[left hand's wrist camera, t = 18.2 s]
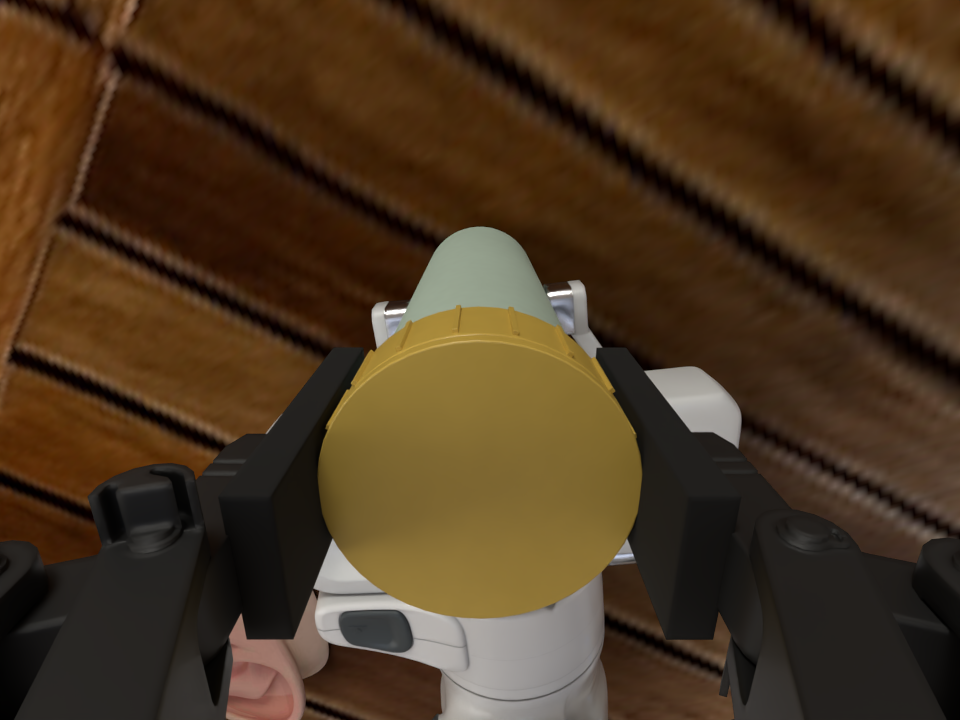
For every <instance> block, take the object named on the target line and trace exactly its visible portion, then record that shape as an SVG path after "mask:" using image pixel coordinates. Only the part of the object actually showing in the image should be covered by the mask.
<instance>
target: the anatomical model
mask: <svg viewBox="0 0 960 720" xmlns="http://www.w3.org/2000/svg"><path fill="white" fill-rule="evenodd" d="M316 605H317V599H316V597H315V594H314V592H313V591H312V593H311V596H310V598H309V601H308V604H307V606H306V609H305V611H304V614H303V616H302V619H301V622H300V624H299V627H298V629H297V632H296V634H295V637H294V640H247V639H246V634H245V629H244V624H243V619H242V614H241V615H240V616H239V618H238V620H237V622H236V624H235V626H234V628H233V630H232V632H231V634H230V635H229V638H230V643H231V647H232V654H233V666H232V673H231V681H230V689H229V696H228V704H227V712H226V718H227V719H230V720H300V719H301V717H302V715H303V713H304V710H305V701H306V696H305V688H304V683H303V680H302V679H304V678H306V677H309V676H311V675H313V674H315V673H317V672H318V671H319V670H321V669H322V668H323V667H324V665H325V664H326V662H327V660H328V655H329V646H328V642H327V641H325V640H324V639H323V638H322V637H321V636H320V634H319V633H318V630H317V627H316V623H315V610H316Z"/></svg>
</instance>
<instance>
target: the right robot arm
mask: <svg viewBox="0 0 960 720" xmlns="http://www.w3.org/2000/svg"><path fill="white" fill-rule="evenodd" d="M543 289H544V291H545V293H546V295H547V297H548V299H549V301H550V303H551V305H552V307H553V309H554V311H555V313H556V315H557V317H558V319H559V321H560V323H561V325H562V327H563V329H564V331H565V333H566V334H567V335H569V334H571V335H572V336H573V338H574V339H575V341H576V342H577V344H578V345H579V346H581V347H582V349H583V350H584V351H585V352H586V353H587V354H588V355H589V357H590V358H591V359H592V358H593V357H595V358H596V348H602V346H601V345H600V343H599V342H598V340H597V339H596V337H595V336H594V335H593V333H592V332H591V330H590V329H589V327H588V318H587V298H586V292H585V287H584V285H583V284H582V283H581V281H580V280H575V281H566V282H558V283H550V284H544V286H543ZM410 301H411V300H400V301H390V302H388V301H387V302H381V303H376V305H375V306H374V308H373V309H372V324H373V329H374V334H375V339H376V345H377V348H378V347H379V346H381V345H382V344H383V343H384V342H385V341H386V340H387V339H388V338H389V337H391V336H392V335H394V333H395V331H396V329H397V327H398V325H399V323H400V321H401V319H402V317H403V315H404V313H405V311H406V309H407V307H408V305H409V303H410ZM644 372H645V373H646V374H647V376H648V377H649V378H650V379H651V381H652V382H653V383H654V385H655V386H656V387H657V388H658V390H659V391H660V392H661V394H662V395H663V396H664V397H665V399H666V400H667V401H668V403H669V404H670V405H671V406H672V408H673V409H674V410H675V412H676V413H677V414H678V415H679V417H680V418H681V419H682V421H683V422H684V423H685V424H686V426H687V427H688V428H689V430H690V431H691V432H714V433H715V434H717V435H719V436H721V437H722V438H724V439H726V440H727V441H729V442H731V443H732V444H734V445H735V446H736V447H737V448H738V446H739V439H740V432H741V412H740V409H739V407H738V405H737V403H736V402H735V400H734V399H733V398H732V397H731V395H730V394H729V393H728V392H727V391H726V390H725V389H724V388H723V387H722V386H721V385H720V384H719V383H718V382H717V381H715V380H714V379H713V378H712V377H710V376H709V375H708V374H707V373H705V372H704V371H703V370H701V369H699V368H697V367H678V368H669V369H659V370H650V371H644ZM281 415H282V414H281ZM279 418H280V417H279ZM279 418H278V419H279ZM278 419H277V420H278ZM277 420H276V421H277ZM276 421H275V423H276ZM275 423H274V424H275ZM274 424H273V425H274ZM273 425H272V426H271V427H270V429H271V428H272V427H273ZM270 429H269V430H270ZM269 430H268V431H267V433H268V432H269ZM267 433H266V434H267ZM627 564H636V561H635V558H634V555H633V553H632V550H631V548H630V545H629V543H628V540H626V542H625V543H624V545H623V546H622V548H621V549H620V551H619V552H618V554H617V555H616V556H615V558H614V559H613V560H612V561H611V562H610V563H609V564H608V566H616V565H627ZM314 589H316V590H319V596H318V600H317V605H316V610H315V623H316V627H317V630H318V633H319V634H320V636H321V637H322V638H323V639H324V640H325V641H327V642H329V643H332V644H335V645H340V646H346V647H352V648H359V649H365V650H371V651H377V652H382V653H387V654H392V655H396V656H400V657H405V658H408V659H412V660H415V661H419V662H422V663H425V664H428V665H430V666H433V667H436V668H439V669H440V670H441V672H442V679H441V705H442V714H440V715H439V714H436V716H435V717H434V718H433V719H432V720H608V691H607V683H606V676H605V671H604V668H603V665H602V662H601V660H600V654H601V651H602V648H603V642H604V633H605V631H604V602H603V578H602V572H601V573H600V574H599V575H598V576H596V577H595V578H594V579H593V580H592V581H590V582H589V583H588V584H587V585H585V586H584V587H582V588H581V589H579V590H578V591H576V592H575V593H573V594H572V595H570V596H568V597H566V598H564V599H562V600H560V601H558V602H556V603H554V604H551V605H549V606H546V607H543V608H541V609H538V610H535V611H531V612H527V613H524V614H520V615H514V616H508V617H502V618H486V619H475V618H459V617H452V616H445V615H440V614H436V613H432V612H428V611H425V610H422V609H419V608H416V607H414V606H411V605H408V604H406V603H404V602H402V601H400V600H398V599H396V598H394V597H392V596H390V595H388V594H387V593H385V592H384V591H382V590H380V589H379V588H377V587H376V586H374V585H373V584H372V583H371V582H369V581H368V580H367V579H366V578H365V577H363V576H362V575H361V574H360V573H359V572H358V571H357V570H356V569H355V568H354V567H353V566H352V565H351V564H350V563H349V562H348V560H347V559H346V558H345V556H344V555H343V554H342V552H341V551H340V550H339V548H338V547H337V545H336V543H335V542H334V540H333V539H332V542H331V544H330V547H329V549H328V552H327V555H326V557H325V560H324V562H323V565H322V567H321V570H320V573H319V575H318V578H317V580H316V583H315V586H314ZM733 720H735V719H733Z"/></svg>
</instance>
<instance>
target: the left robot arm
mask: <svg viewBox="0 0 960 720" xmlns="http://www.w3.org/2000/svg"><path fill="white" fill-rule="evenodd" d="M596 359H597V361H598V363H599V364H600V366H601V368H602V369H603V371H604V373H605V374H606V376H607V378H608V380H609V381H610V383H611V385H612V386H613V388H614V390H615V392H614V393H613V395H614V397H615V398H616V399H617V401H618V403H619V405H620V406H621V408H622V410H623V412H624V413H625V415H626V417H627V419H628V420H629V422H630V424H631V426H632V427H633V429H634V431H635V433H636V436H637V438H636V441H637V445H638V448H639V452H640V455H641V463H642V482H641V491H640V499H639V507H638V514H637V517H636V519H635V522H634V525H633V528H632V530H631V532H630V534H629V536H628V538H627V540H628V543H629V545H630V548H631V550H632V553H633V555H634V558H635V561H636V563H637V566H638V568H639V571H640V573H641V576H642V579H643V581H644V584H645V586H646V589H647V591H648V594H649V597H650V599H651V602H652V604H653V607H654V610H655V612H656V615H657V617H658V620H659V622H660V625H661V628H662V630H663V633H664V635H665V638H666V640H713V637H714V632H715V627H716V622H717V617H718V612H720V614H721V616H722V618H723V620H724V622H725V624H726V626H727V628H728V629H729V631H730V633H731V638H730V643H729V647H728V652H727V657H726V661H725V666H724V671H723V675H722V680H721V685H720V692H719V695H721V696H725V697H727V694H728V689H729V685H730V687H731V695H732V702H733V710H734V718H735V720H960V539H953V538H940V539H931V540H930V541H929V542H927V543H926V544H924V545H923V547H922V550H921V553H920V556H919V558H918V561H917V563H912V562H907V561H902V560H897V559H892V558H887V557H882V556H877V555H872V554H868V553H864V552H861V551H860V549H859V547H858V545H857V544H856V543H855V541H854V540H853V539H852V538H851V536H850V535H849V534H848V533H847V532H845V531H844V530H842V529H841V528H840V527H838V526H837V525H835V524H834V523H832V522H830V521H828V520H825V519H823V518H821V517H819V516H817V515H814V514H810V513H806V512H803V511H799V510H794V509H791V508H790V507H789V506H788V504H787V503H786V502H785V501H784V500H783V499H782V498H781V497H780V495H779V494H778V493H777V492H776V491H775V490H774V489H773V488H772V486H771V485H770V484H769V483H768V482H767V481H766V480H765V479H764V478H763V476H762V475H761V474H758V473H757V470H756V469H755V467H754V466H753V465H752V464H751V463H750V462H747V459H746V457H745V456H744V455H743V454H742V453H741V452H740V451H739V450H738V448H737V447H736V446H735V445H734V444H732V443H731V442H729V441H727V440H726V439H724V438H722V437H721V436H719V435H717V434H715V433H714V432H691V431H690V430H689V428H688V427H687V426H686V424H685V423H684V422H683V421H682V419H681V418H680V417H679V415H678V414H677V413H676V412H675V410H674V409H673V408H672V406H671V405H670V404H669V403H668V401H667V400H666V399H665V397H664V396H663V395H662V394H661V392H660V391H659V390H658V388H657V387H656V386H655V385H654V383H653V382H652V381H651V379H650V378H649V377H648V376H647V374H646V373H645V372H644V370H643V369H642V368H641V367H640V365H639V364H638V363H637V361H636V360H635V359H634V358H633V356H632V355H631V354H630V352H629V351H628V350H627V349H626V348H596ZM363 361H364V352H363V348H333V349H332V351H331V352H330V353H329V355H328V356H327V357H326V358H325V360H324V361H323V362H322V364H321V365H320V366H319V367H318V369H317V370H316V371H315V373H314V374H313V375H312V376H311V378H310V379H309V380H308V382H307V383H306V384H305V385H304V387H303V388H302V389H301V391H300V392H299V393H298V394H297V396H296V397H295V398H294V400H293V401H292V402H291V403H290V405H289V406H288V407H287V409H286V410H285V411H284V412H283V414H282V415H281V416H280V418H279V419H278V420H277V421H276V423H275V424H274V425H273V427H272V428H271V429H270V430H269V432H268V433H267V434H246V435H244V436H242V437H241V438H239V439H237V440H236V441H234V442H232V443H231V444H229V445H227V446H226V447H225V448H224V449H223V450H222V451H221V453H220V454H219V455H218V456H217V457H216V458H215V459H214V460H213V464H210V465H209V466H208V467H207V468H206V469H205V471H204V472H203V475H202V476H199V477H198V478H197V480H195V475H194V471H192V470H191V469H189V468H188V467H187V466H184V465H179V464H173V463H167V464H153V465H148V466H144V467H139V468H135V469H132V470H129V471H126V472H124V473H121V474H119V475H116V476H114V477H112V478H110V479H109V480H107V481H105V482H104V483H102V484H100V485H99V486H97V487H96V488H95V489H94V490H93V491H92V493H91V494H90V495H89V496H88V500H89V503H90V506H91V509H92V513H93V516H94V519H95V523H96V526H97V529H98V533H99V536H100V539H101V543H102V548H101V550H100V552H99V554H98V555H94V556H90V557H85V558H80V559H75V560H70V561H65V562H60V563H55V564H50V565H45V566H44V565H43V563H42V560H41V557H40V554H39V551H38V548H37V547H35V546H34V545H32V544H31V543H30V542H25V541H15V540H12V541H5V542H0V720H225V719H226V712H227V704H228V696H229V689H230V681H231V673H232V666H233V654H232V647H231V643H230V638H229V635H230V634H231V632H232V630H233V628H234V626H235V624H236V622H237V620H238V618H239V616H240V615H241V614H242V619H243V624H244V629H245V634H246V639H247V640H294V637H295V634H296V632H297V629H298V627H299V624H300V622H301V619H302V616H303V614H304V611H305V609H306V606H307V604H308V601H309V598H310V596H311V593H312V591H313V588H314V586H315V583H316V580H317V578H318V575H319V573H320V570H321V567H322V565H323V562H324V560H325V557H326V555H327V552H328V549H329V547H330V544H331V542H332V539H333V538H332V536H331V534H330V532H329V531H328V528H327V525H326V523H325V520H324V517H323V515H322V509H321V502H320V494H319V485H318V476H317V473H318V461H319V456H320V452H321V448H322V444H323V440H324V438H325V435H326V433H327V431H328V430H327V429H325V428H326V425H327V423H328V422H329V420H330V418H331V416H332V415H333V413H334V411H335V409H336V408H337V406H338V404H339V403H340V401H341V399H342V397H343V396H344V394H345V392H346V390H350V388H351V386H352V384H351V382H352V380H353V379H354V377H355V375H356V373H357V372H358V370H359V368H360V367H361V365H362V363H363Z"/></svg>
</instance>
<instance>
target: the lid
mask: <svg viewBox="0 0 960 720" xmlns="http://www.w3.org/2000/svg"><path fill="white" fill-rule="evenodd" d="M351 384H352V386H351V388H350V390H346V392H345V394H344V396H343V397H342V399H341V401H340V403H339V404H338V406H337V408H336V409H335V411H334V413H333V415H332V416H331V418H330V420H329V422H328V423H327V425H326V428H325V429H327V430H328V431H327V433H326V435H325V438H324V440H323V444H322V448H321V452H320V456H319V461H318V473H317V476H318V485H319V494H320V502H321V509H322V515H323V517H324V520H325V523H326V525H327V528H328V531H329V532H330V534H331V536H332V538H333V540H334V542H335V543H336V545H337V547H338V548H339V550H340V551H341V552H342V554H343V555H344V556H345V558H346V559H347V560H348V562H349V563H350V564H351V565H352V566H353V567H354V568H355V569H356V570H357V571H358V572H359V573H360V574H361V575H362V576H363V577H365V578H366V579H367V580H368V581H369V582H371V583H372V584H373V585H374V586H376V587H377V588H379V589H380V590H382V591H384V592H385V593H387V594H388V595H390V596H392V597H394V598H396V599H398V600H400V601H402V602H404V603H406V604H408V605H411V606H414V607H416V608H419V609H422V610H425V611H428V612H432V613H436V614H440V615H445V616H452V617H459V618H475V619H486V618H502V617H508V616H514V615H520V614H524V613H527V612H531V611H535V610H538V609H541V608H543V607H546V606H549V605H551V604H554V603H556V602H558V601H560V600H562V599H564V598H566V597H568V596H570V595H572V594H573V593H575V592H576V591H578V590H579V589H581V588H582V587H584V586H585V585H587V584H588V583H589V582H590V581H592V580H593V579H594V578H595V577H596V576H598V575H599V574H600V573H601V572H602V571H603V570H604V569H605V568H606V567H607V566H608V564H609V563H610V562H611V561H612V560H613V559H614V558H615V556H616V555H617V554H618V552H619V551H620V549H621V548H622V546H623V545H624V543H625V542H626V540H627V538H628V536H629V534H630V532H631V530H632V528H633V525H634V522H635V519H636V517H637V514H638V507H639V499H640V491H641V482H642V463H641V455H640V452H639V448H638V445H637V441H636V438H637V436H636V433H635V431H634V429H633V427H632V426H631V424H630V422H629V420H628V419H627V417H626V415H625V413H624V412H623V410H622V408H621V406H620V405H619V403H618V401H617V399H616V398H615V397H614V395H613V393H614V392H615V390H614V388H613V386H612V385H611V383H610V381H609V380H608V378H607V376H606V374H605V373H604V371H603V369H602V368H601V366H600V364H599V363H598V361H597V359H596V358H595V357H593V358H592V359H591V358H590V357H589V355H588V354H587V353H586V352H585V351H584V350H583V349H582V347H581V346H579V345H578V344H577V343H576V342H575V341H574V340H573V339H571V338H570V337H569V336H568V335H567V334H565V333H564V331H563V329H562V327H561V326H559V325H557V326H556V327H554V326H553V325H551V324H549V323H547V322H545V321H542V320H540V319H538V318H536V317H534V316H531V315H527V314H524V313H521V312H518V311H514V307H510V306H509V307H508V309H503V308H497V307H465V308H461V305H456V308H455V309H452V310H447V311H442V312H438V313H435V314H432V315H430V316H427V317H424V318H421V319H419V320H417V321H415V322H412V321H411V320H409V321H408V322H406V325H405V327H404V328H402V329H401V330H399V331H398V332H396V333H395V334H394V335H392V336H391V337H389V338H388V339H387V340H386V341H385V342H384V343H383V344H382V345H381V346H379V347H378V348H377V349H376V351H375V352H373V351H372V350H370V352H369V353H368V354H367V356H366V358H365V360H364V361H363V363H362V365H361V367H360V368H359V370H358V372H357V373H356V375H355V377H354V379H353V380H352V382H351Z"/></svg>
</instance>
